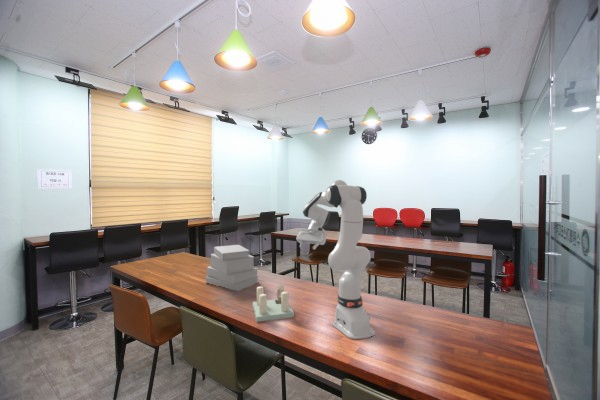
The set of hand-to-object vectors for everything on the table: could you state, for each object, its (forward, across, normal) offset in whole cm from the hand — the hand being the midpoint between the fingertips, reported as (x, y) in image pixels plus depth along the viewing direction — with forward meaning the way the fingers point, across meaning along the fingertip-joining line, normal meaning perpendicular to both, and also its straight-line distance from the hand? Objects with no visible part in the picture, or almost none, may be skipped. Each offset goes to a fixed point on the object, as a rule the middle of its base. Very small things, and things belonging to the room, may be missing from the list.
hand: (307, 248), depth 171 cm
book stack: (+26, -61, +19) cm, 69 cm away
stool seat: (+43, -7, +2) cm, 43 cm away
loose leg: (+37, -7, +8) cm, 38 cm away
